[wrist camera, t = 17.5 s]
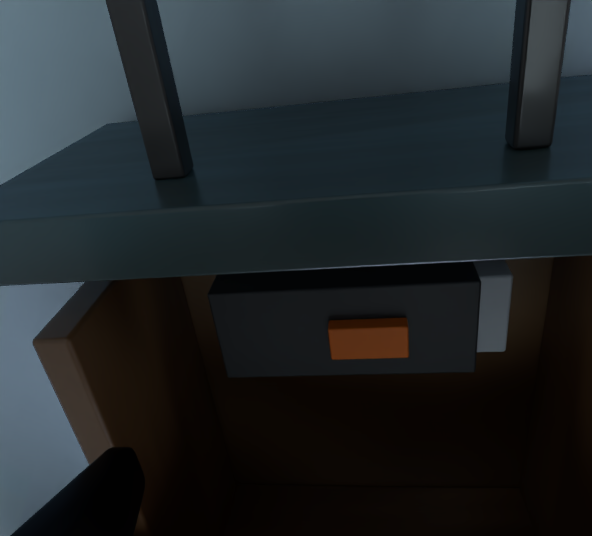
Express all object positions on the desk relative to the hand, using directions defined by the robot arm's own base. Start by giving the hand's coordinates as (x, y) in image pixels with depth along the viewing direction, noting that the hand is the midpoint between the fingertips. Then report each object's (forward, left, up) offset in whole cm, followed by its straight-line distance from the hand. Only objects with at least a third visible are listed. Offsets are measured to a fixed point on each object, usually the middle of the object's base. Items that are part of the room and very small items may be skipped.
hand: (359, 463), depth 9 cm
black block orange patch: (0, 0, -6) cm, 6 cm away
